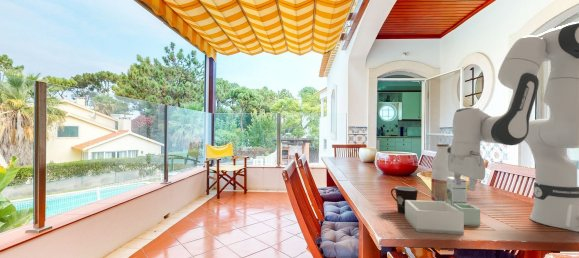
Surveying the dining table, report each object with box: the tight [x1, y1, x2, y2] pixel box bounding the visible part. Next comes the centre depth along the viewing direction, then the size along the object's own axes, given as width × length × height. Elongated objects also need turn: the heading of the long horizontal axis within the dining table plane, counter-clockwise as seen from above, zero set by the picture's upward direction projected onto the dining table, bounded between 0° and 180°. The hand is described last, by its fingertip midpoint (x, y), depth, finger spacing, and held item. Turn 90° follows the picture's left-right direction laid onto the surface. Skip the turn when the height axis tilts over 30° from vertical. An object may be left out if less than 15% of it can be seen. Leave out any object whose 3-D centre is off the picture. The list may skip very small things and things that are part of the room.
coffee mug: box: [390, 185, 419, 216], centre depth 112 cm, size 12×9×10 cm
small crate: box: [453, 203, 481, 227], centre depth 100 cm, size 6×6×6 cm
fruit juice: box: [430, 143, 454, 203], centre depth 122 cm, size 9×9×28 cm
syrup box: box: [447, 176, 468, 206], centre depth 111 cm, size 6×6×14 cm
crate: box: [404, 199, 465, 235], centre depth 96 cm, size 14×14×7 cm
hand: (464, 187), depth 100 cm, fingers open, 8 cm apart
